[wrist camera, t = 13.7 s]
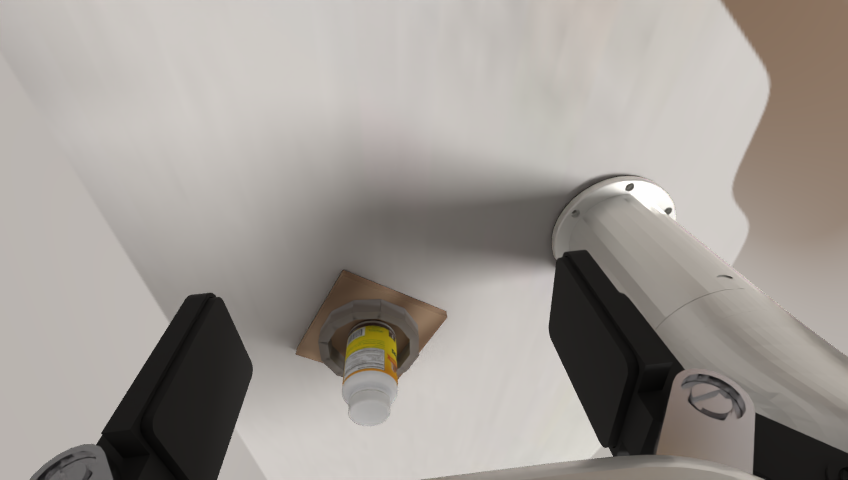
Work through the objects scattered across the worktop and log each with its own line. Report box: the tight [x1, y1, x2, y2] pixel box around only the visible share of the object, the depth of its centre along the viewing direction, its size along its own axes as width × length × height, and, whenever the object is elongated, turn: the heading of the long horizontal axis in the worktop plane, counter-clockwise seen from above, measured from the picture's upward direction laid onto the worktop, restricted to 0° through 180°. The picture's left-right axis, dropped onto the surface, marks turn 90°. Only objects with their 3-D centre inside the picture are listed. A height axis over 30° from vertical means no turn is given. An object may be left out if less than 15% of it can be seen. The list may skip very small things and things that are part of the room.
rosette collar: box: [296, 270, 447, 379], centre depth 46 cm, size 13×13×3 cm
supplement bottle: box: [342, 320, 398, 426], centre depth 42 cm, size 6×6×10 cm
